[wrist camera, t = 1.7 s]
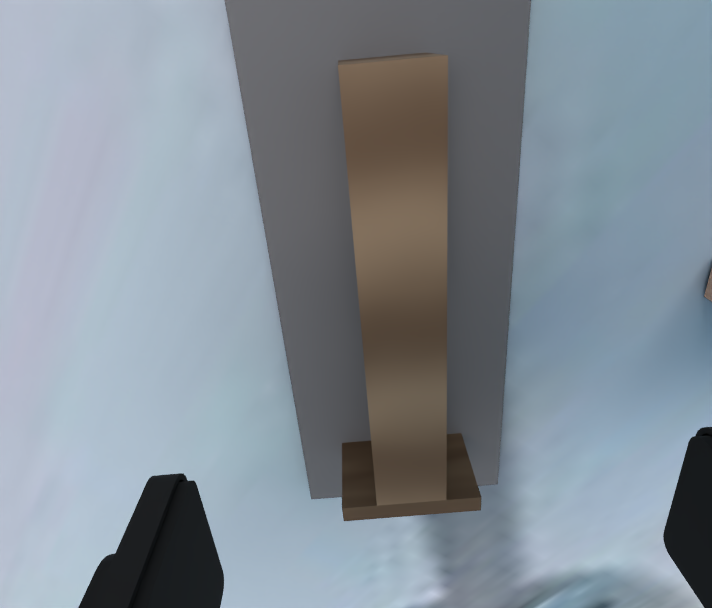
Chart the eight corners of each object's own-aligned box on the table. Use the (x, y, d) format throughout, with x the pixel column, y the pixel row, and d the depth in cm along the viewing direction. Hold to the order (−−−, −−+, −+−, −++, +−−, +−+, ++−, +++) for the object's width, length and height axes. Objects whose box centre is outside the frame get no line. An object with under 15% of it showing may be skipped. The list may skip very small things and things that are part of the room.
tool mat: (222, -32, 16) (218, -35, 16) (529, -61, 16) (535, -65, 16) (311, 490, 28) (311, 499, 27) (494, 475, 27) (497, 484, 27)
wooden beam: (294, 64, 17) (283, 69, 14) (469, 48, 17) (503, 50, 14) (343, 454, 26) (344, 521, 22) (461, 445, 25) (480, 510, 22)
